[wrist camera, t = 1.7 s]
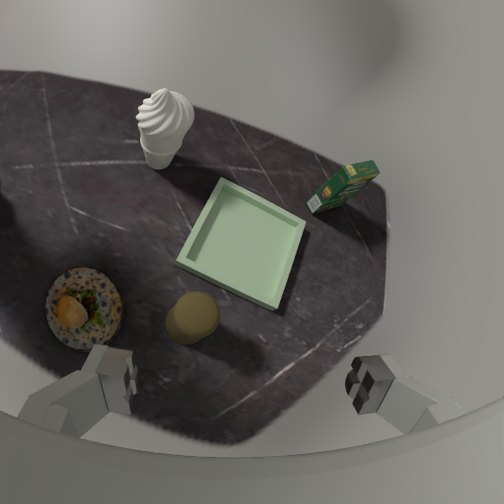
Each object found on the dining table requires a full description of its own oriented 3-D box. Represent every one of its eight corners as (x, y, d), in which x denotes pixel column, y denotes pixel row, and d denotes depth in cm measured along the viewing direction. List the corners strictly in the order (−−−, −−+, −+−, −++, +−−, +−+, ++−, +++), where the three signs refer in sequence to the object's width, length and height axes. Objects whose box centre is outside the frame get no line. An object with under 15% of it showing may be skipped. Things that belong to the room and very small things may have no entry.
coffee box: (310, 216, 54) (352, 180, 42) (303, 203, 54) (342, 164, 43) (340, 207, 57) (382, 173, 45) (333, 194, 58) (373, 159, 46)
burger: (139, 325, 38) (137, 318, 32) (73, 367, 33) (58, 369, 26) (98, 254, 39) (89, 234, 33) (34, 293, 34) (15, 281, 27)
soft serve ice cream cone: (179, 140, 50) (197, 71, 36) (185, 178, 48) (205, 110, 34) (133, 143, 47) (138, 71, 33) (135, 182, 45) (137, 111, 30)
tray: (175, 264, 43) (176, 260, 41) (218, 183, 50) (221, 176, 48) (271, 310, 45) (277, 308, 43) (300, 226, 52) (305, 221, 50)
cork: (213, 337, 41) (235, 330, 31) (173, 350, 38) (181, 348, 29) (199, 297, 42) (216, 277, 32) (159, 309, 40) (163, 293, 30)
